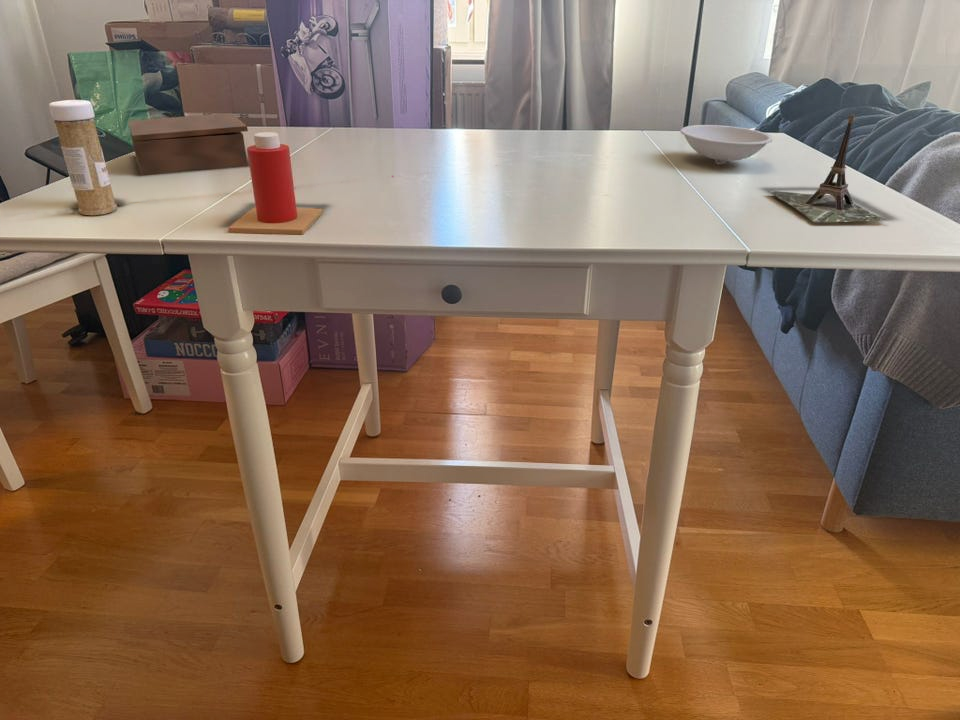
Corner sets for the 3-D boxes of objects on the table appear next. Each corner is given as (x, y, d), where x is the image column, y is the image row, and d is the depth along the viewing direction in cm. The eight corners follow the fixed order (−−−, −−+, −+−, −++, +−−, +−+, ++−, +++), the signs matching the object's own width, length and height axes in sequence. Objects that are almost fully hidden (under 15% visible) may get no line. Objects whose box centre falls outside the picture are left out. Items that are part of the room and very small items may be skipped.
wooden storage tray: (233, 154, 119) (228, 120, 116) (248, 171, 108) (243, 134, 105) (137, 162, 113) (128, 126, 110) (142, 181, 101) (133, 141, 99)
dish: (662, 153, 124) (666, 125, 122) (735, 152, 126) (740, 124, 124) (702, 175, 109) (707, 143, 106) (785, 174, 111) (792, 142, 108)
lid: (232, 117, 117) (231, 112, 116) (248, 131, 105) (247, 125, 105) (128, 125, 110) (127, 120, 110) (133, 141, 99) (132, 135, 98)
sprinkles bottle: (124, 210, 88) (98, 101, 81) (90, 218, 84) (59, 105, 78) (106, 204, 90) (79, 97, 84) (71, 212, 87) (40, 101, 80)
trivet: (228, 232, 80) (227, 227, 80) (254, 211, 88) (254, 206, 88) (303, 234, 80) (302, 229, 79) (322, 213, 88) (322, 208, 87)
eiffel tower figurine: (764, 194, 98) (785, 97, 92) (832, 194, 99) (857, 98, 93) (813, 225, 85) (841, 114, 79) (891, 225, 86) (925, 115, 79)
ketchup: (261, 225, 81) (249, 139, 76) (254, 215, 85) (241, 132, 80) (301, 220, 83) (291, 136, 78) (292, 210, 86) (282, 129, 82)
